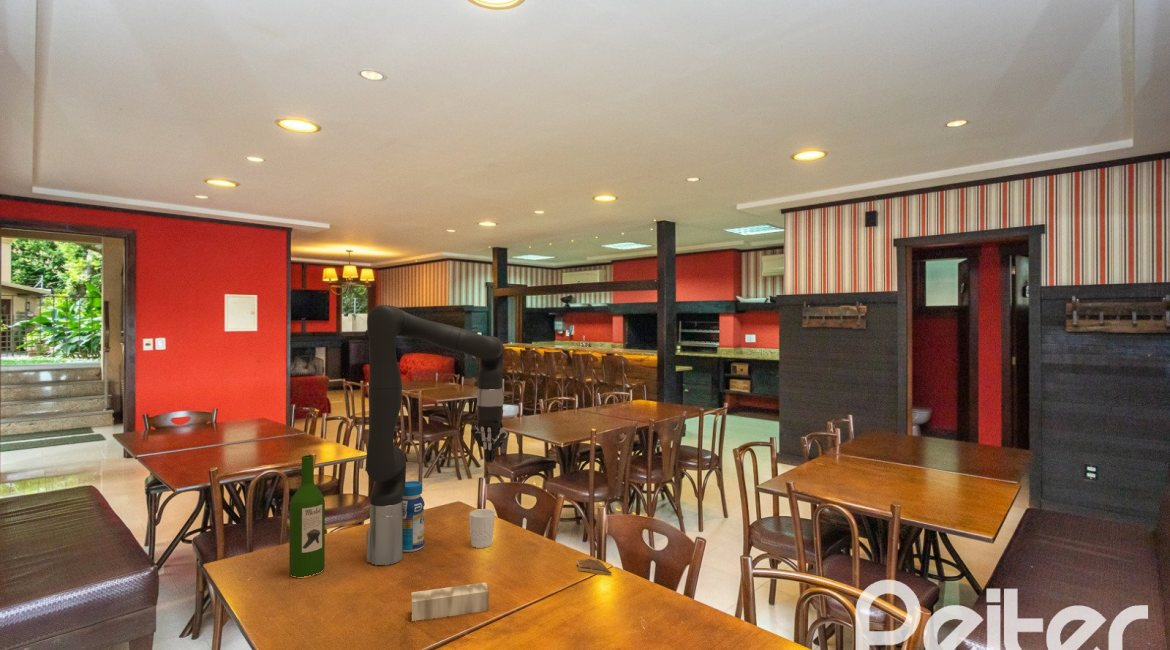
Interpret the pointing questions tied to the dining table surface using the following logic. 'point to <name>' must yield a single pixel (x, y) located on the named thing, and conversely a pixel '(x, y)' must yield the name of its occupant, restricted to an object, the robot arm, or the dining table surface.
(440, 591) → the birch block
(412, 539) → the beverage bottle
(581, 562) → the shard
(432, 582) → the dining table surface
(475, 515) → the white cup
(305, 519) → the wine bottle
